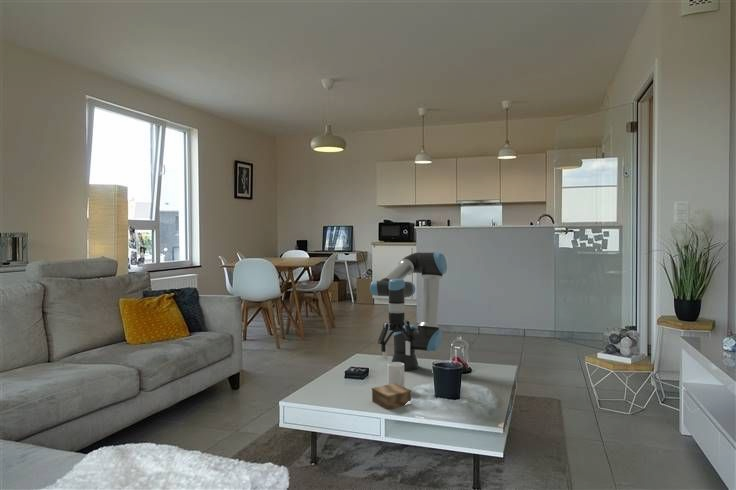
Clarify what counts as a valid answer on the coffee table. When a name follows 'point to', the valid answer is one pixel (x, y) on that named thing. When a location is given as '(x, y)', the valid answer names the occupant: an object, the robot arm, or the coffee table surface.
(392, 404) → the walnut box
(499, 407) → the coffee table surface
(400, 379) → the mug
